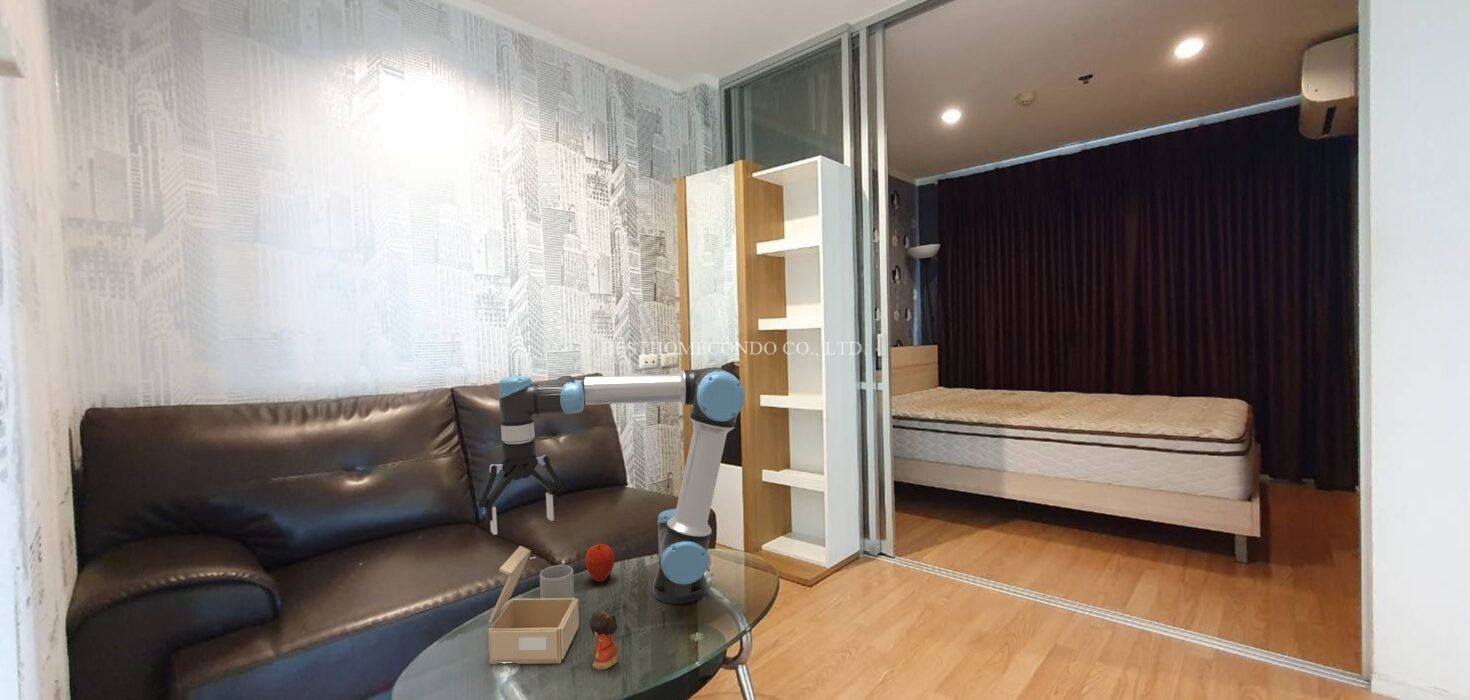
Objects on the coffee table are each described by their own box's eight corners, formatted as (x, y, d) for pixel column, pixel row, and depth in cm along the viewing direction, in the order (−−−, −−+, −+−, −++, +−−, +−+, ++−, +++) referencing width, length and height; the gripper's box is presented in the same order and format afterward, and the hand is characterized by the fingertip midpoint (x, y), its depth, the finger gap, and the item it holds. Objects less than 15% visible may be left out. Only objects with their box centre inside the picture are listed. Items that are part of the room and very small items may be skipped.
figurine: (621, 655, 134) (620, 604, 133) (617, 670, 129) (616, 617, 128) (593, 655, 134) (592, 605, 133) (588, 670, 128) (587, 618, 128)
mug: (577, 616, 151) (576, 575, 151) (542, 623, 148) (541, 581, 147) (569, 595, 162) (568, 557, 162) (537, 602, 159) (536, 563, 158)
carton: (579, 628, 146) (578, 597, 145) (562, 664, 131) (561, 630, 130) (513, 628, 146) (512, 597, 145) (488, 665, 130) (487, 631, 130)
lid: (531, 550, 143) (520, 545, 143) (512, 573, 130) (499, 568, 130) (511, 595, 144) (500, 590, 144) (490, 623, 131) (478, 617, 131)
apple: (587, 574, 175) (586, 539, 174) (616, 573, 176) (615, 538, 175) (583, 588, 166) (582, 551, 166) (613, 586, 167) (612, 550, 167)
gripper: (562, 430, 152) (566, 510, 153) (459, 446, 137) (464, 534, 138) (573, 434, 146) (577, 517, 147) (467, 452, 131) (472, 544, 132)
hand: (523, 526), depth 143 cm, fingers open, 13 cm apart
